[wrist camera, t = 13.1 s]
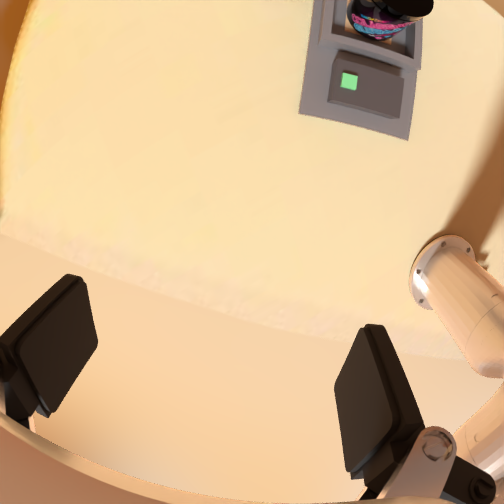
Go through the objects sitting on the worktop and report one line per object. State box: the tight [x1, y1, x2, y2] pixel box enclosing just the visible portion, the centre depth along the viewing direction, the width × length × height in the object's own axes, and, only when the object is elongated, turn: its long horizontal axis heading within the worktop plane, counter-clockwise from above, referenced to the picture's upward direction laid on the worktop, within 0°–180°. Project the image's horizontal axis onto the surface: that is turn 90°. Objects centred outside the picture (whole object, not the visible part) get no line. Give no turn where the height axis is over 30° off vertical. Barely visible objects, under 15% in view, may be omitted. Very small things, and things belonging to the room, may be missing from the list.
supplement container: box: [347, 0, 434, 41], centre depth 19 cm, size 7×7×10 cm
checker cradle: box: [298, 0, 423, 141], centre depth 24 cm, size 14×22×5 cm, turn 172°
